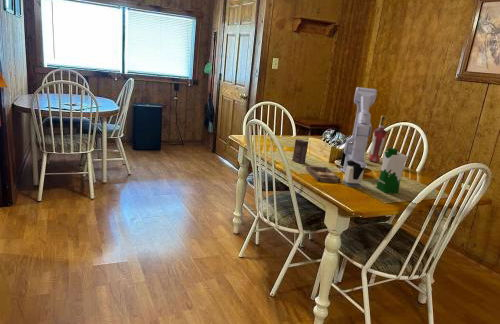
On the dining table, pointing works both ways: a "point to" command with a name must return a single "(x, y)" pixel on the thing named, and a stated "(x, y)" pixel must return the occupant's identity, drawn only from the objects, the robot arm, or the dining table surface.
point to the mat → (351, 184)
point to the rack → (322, 179)
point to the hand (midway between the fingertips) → (353, 177)
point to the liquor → (378, 141)
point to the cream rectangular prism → (349, 175)
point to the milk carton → (391, 171)
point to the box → (300, 151)
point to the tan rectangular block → (326, 174)
